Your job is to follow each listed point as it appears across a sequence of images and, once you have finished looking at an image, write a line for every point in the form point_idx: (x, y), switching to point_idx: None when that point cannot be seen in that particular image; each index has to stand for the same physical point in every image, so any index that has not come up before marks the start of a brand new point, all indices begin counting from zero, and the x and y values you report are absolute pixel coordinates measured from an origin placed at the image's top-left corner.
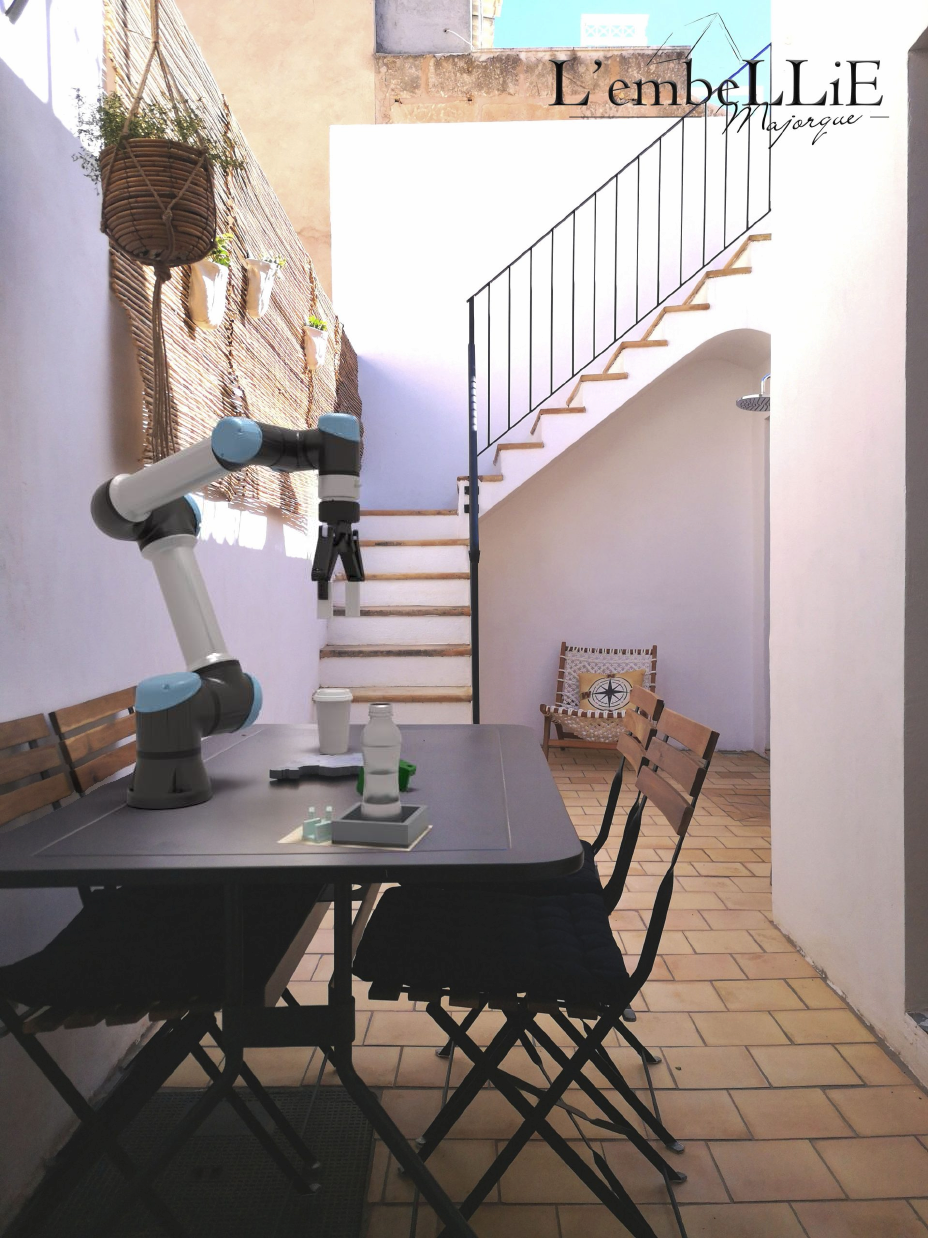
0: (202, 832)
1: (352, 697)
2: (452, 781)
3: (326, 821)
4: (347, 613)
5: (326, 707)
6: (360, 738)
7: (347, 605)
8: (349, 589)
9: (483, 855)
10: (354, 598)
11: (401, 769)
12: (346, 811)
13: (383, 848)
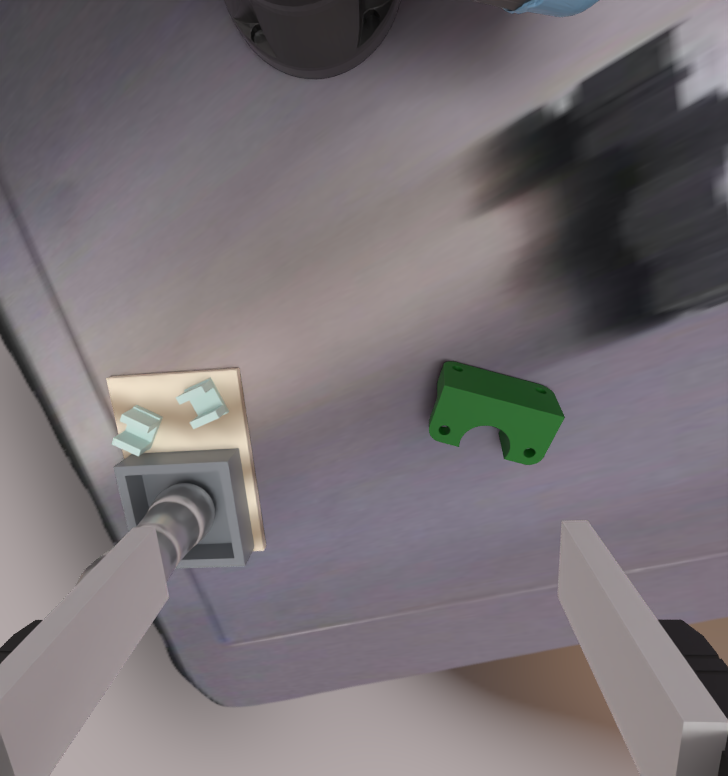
0: (139, 213)
1: None
2: (604, 489)
3: (210, 409)
4: (567, 542)
5: None
6: (92, 563)
7: (585, 576)
8: (640, 688)
9: (192, 623)
10: (602, 661)
11: (509, 441)
12: (169, 467)
13: None
